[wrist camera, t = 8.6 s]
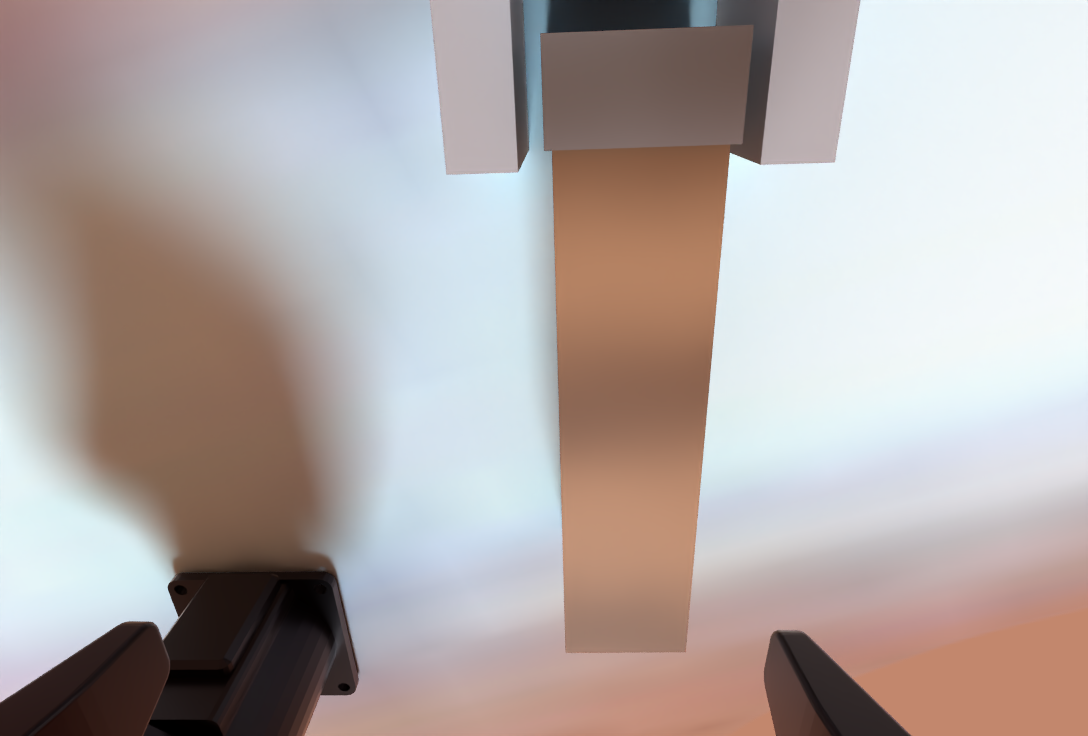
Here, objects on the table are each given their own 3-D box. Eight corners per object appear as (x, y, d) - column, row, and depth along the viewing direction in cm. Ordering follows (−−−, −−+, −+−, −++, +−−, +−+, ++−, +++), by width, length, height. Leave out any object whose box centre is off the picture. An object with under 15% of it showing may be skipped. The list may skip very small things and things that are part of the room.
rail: (661, 528, 23) (692, 660, 18) (560, 529, 23) (560, 661, 18) (690, 44, 16) (753, 24, 11) (546, 50, 16) (540, 33, 11)
